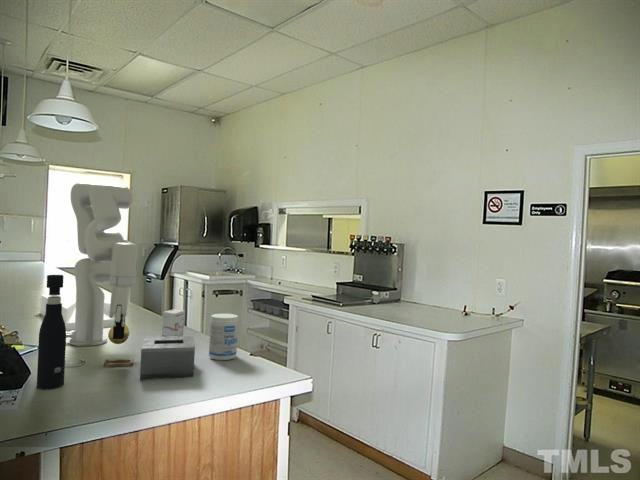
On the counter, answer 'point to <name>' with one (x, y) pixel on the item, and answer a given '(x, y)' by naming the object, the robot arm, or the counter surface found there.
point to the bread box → (70, 310)
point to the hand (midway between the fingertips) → (118, 337)
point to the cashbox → (167, 357)
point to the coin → (119, 341)
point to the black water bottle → (52, 339)
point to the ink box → (173, 323)
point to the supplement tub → (223, 336)
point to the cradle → (118, 362)
